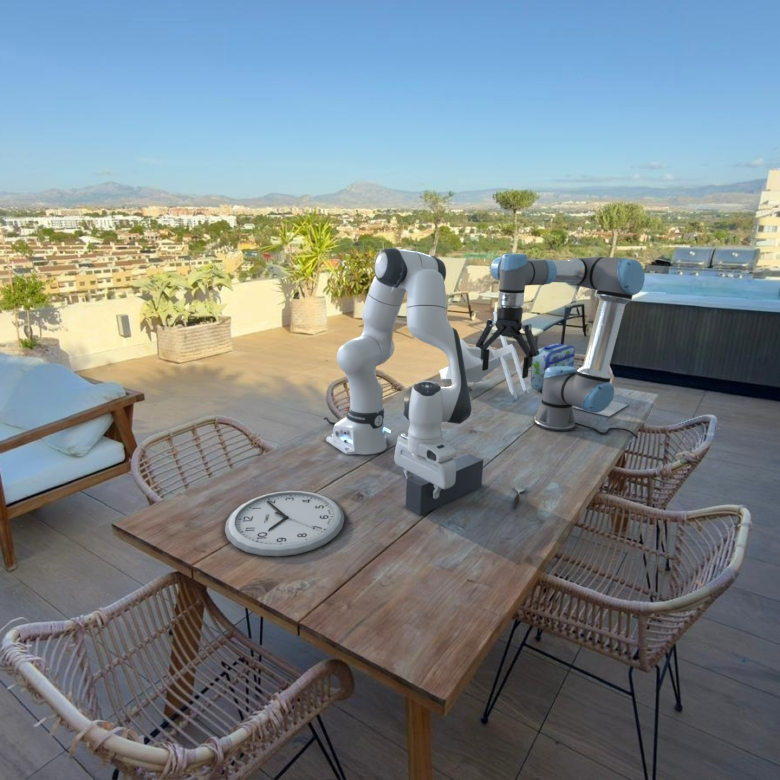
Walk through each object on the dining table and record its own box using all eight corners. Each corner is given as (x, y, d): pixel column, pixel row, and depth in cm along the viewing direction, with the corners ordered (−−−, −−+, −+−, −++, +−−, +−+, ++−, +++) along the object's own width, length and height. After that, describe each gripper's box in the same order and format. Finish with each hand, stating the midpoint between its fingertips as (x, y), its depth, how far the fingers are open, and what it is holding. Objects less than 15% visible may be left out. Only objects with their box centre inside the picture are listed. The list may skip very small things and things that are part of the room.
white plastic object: (461, 429, 252) (437, 405, 227) (444, 352, 274) (420, 323, 250) (535, 404, 240) (518, 377, 215) (510, 326, 262) (492, 293, 237)
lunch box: (547, 395, 239) (552, 351, 233) (526, 390, 247) (530, 347, 240) (574, 384, 257) (579, 343, 251) (554, 380, 264) (558, 339, 258)
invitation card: (608, 416, 214) (573, 407, 224) (608, 416, 214) (573, 408, 224) (628, 404, 229) (594, 396, 238) (628, 405, 229) (594, 397, 238)
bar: (467, 479, 159) (468, 453, 156) (481, 486, 155) (483, 459, 152) (405, 507, 143) (406, 478, 140) (420, 515, 139) (421, 486, 136)
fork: (509, 509, 142) (509, 503, 141) (516, 484, 156) (517, 477, 156) (519, 511, 141) (519, 504, 140) (525, 485, 155) (526, 479, 155)
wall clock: (344, 547, 121) (211, 552, 118) (344, 554, 121) (212, 558, 119) (344, 486, 149) (237, 489, 147) (344, 491, 150) (237, 494, 147)
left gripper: (389, 434, 143) (388, 479, 147) (443, 459, 128) (441, 509, 132) (406, 429, 147) (405, 473, 151) (461, 452, 132) (457, 501, 136)
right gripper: (467, 303, 163) (463, 369, 169) (545, 311, 149) (537, 383, 155) (479, 301, 169) (474, 364, 175) (554, 309, 155) (547, 377, 161)
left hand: (422, 490), depth 141 cm, fingers open, 8 cm apart
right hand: (504, 373), depth 165 cm, fingers open, 13 cm apart
